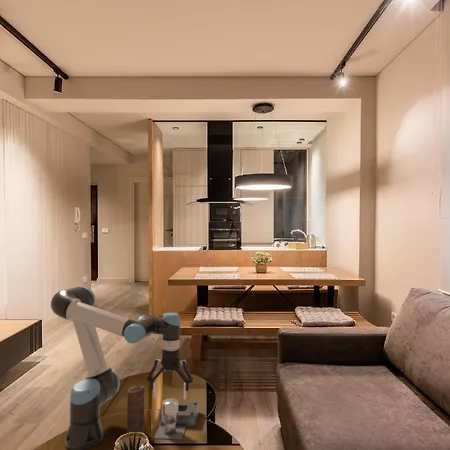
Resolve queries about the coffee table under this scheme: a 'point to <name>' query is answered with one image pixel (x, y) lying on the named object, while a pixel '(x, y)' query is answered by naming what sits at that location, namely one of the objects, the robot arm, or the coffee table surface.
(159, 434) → the mat
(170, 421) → the silver stepped plug
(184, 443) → the coffee table surface
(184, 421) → the housing
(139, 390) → the candle
